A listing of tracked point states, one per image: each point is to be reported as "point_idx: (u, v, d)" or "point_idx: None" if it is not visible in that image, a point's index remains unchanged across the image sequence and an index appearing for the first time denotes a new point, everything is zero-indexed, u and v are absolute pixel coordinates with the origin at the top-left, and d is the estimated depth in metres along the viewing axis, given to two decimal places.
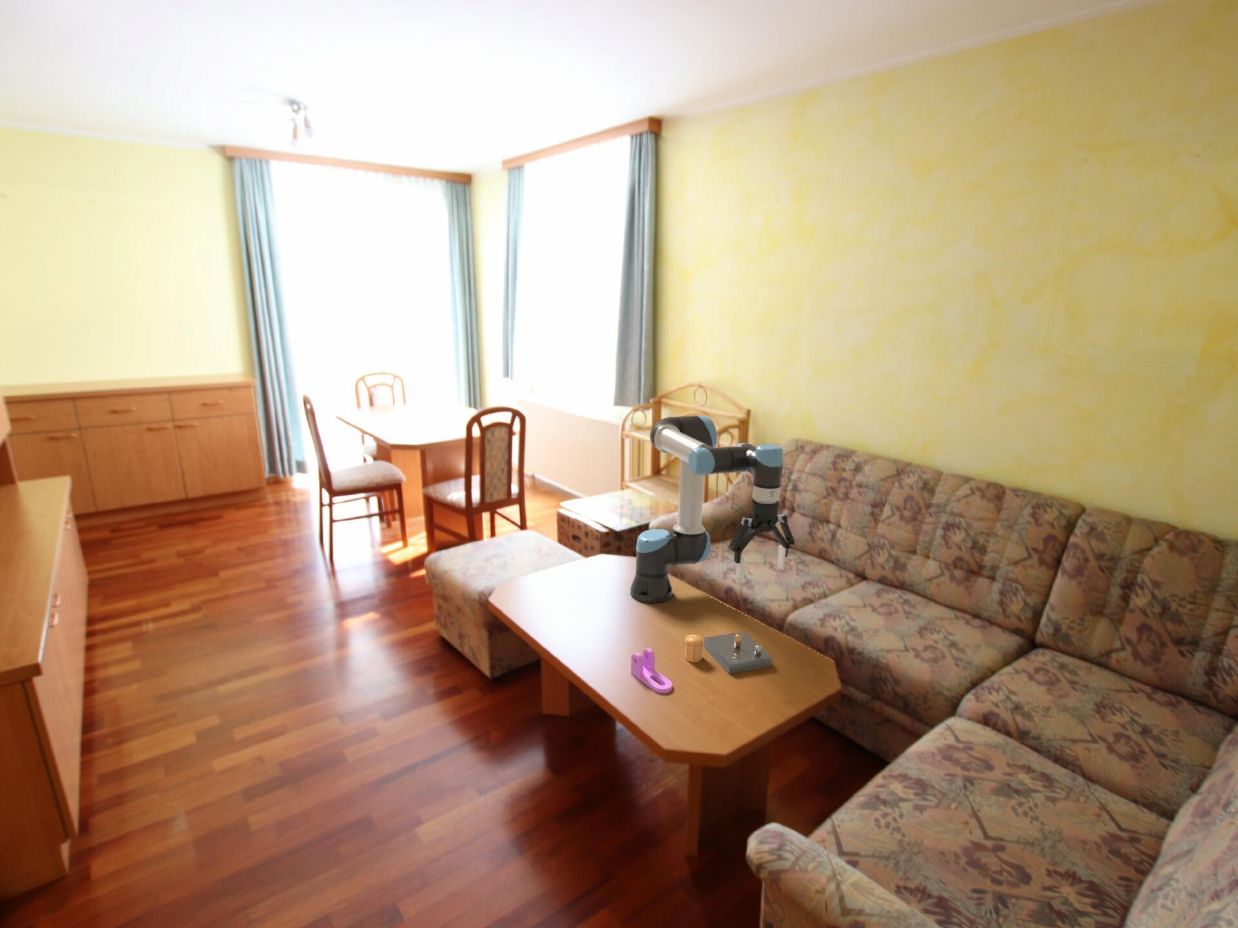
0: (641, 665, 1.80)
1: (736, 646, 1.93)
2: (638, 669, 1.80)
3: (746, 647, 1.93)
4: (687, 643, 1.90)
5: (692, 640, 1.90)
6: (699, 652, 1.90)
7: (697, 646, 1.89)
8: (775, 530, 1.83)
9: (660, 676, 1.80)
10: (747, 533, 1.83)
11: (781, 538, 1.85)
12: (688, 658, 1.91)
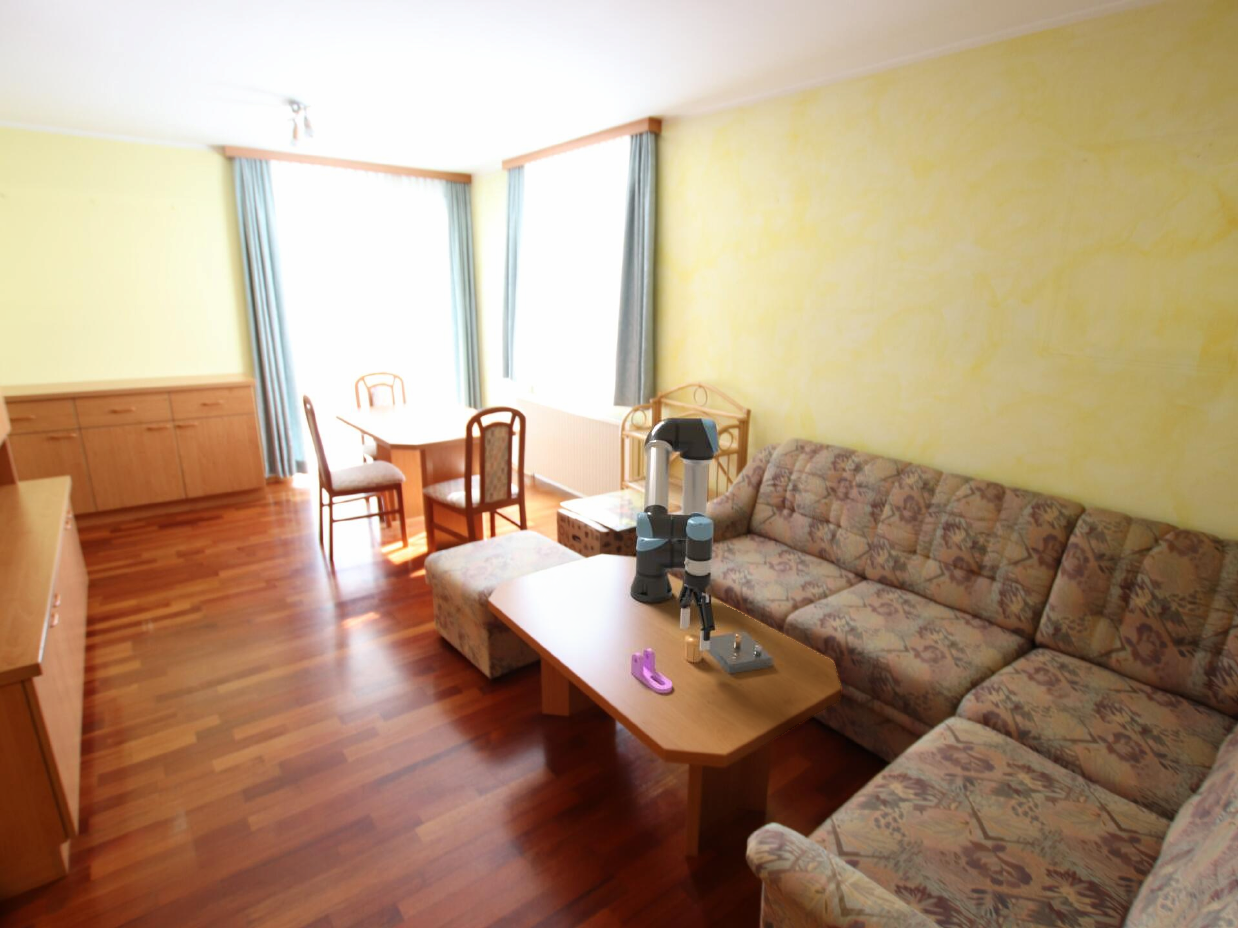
0: (641, 665, 1.80)
1: (736, 646, 1.93)
2: (639, 669, 1.81)
3: (746, 647, 1.93)
4: (687, 643, 1.90)
5: (692, 640, 1.90)
6: (699, 652, 1.90)
7: (697, 646, 1.89)
8: (695, 604, 1.85)
9: (660, 676, 1.81)
10: None
11: (700, 616, 1.83)
12: (688, 658, 1.91)
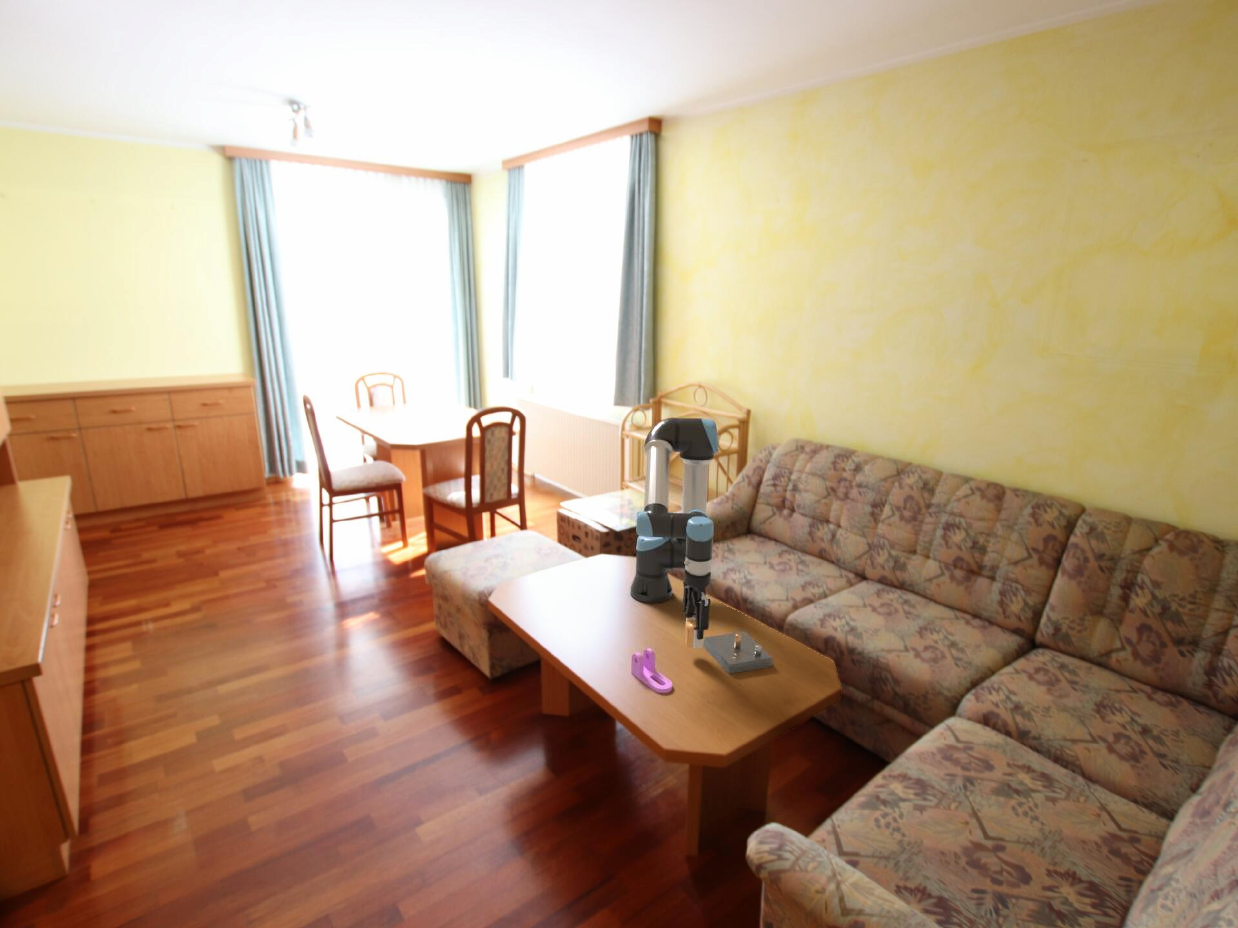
0: (641, 665, 1.81)
1: (736, 646, 1.93)
2: (639, 668, 1.81)
3: (746, 647, 1.93)
4: (688, 629, 1.90)
5: (693, 626, 1.90)
6: None
7: None
8: (693, 603, 1.87)
9: (660, 676, 1.81)
10: None
11: (695, 615, 1.87)
12: (688, 643, 1.90)
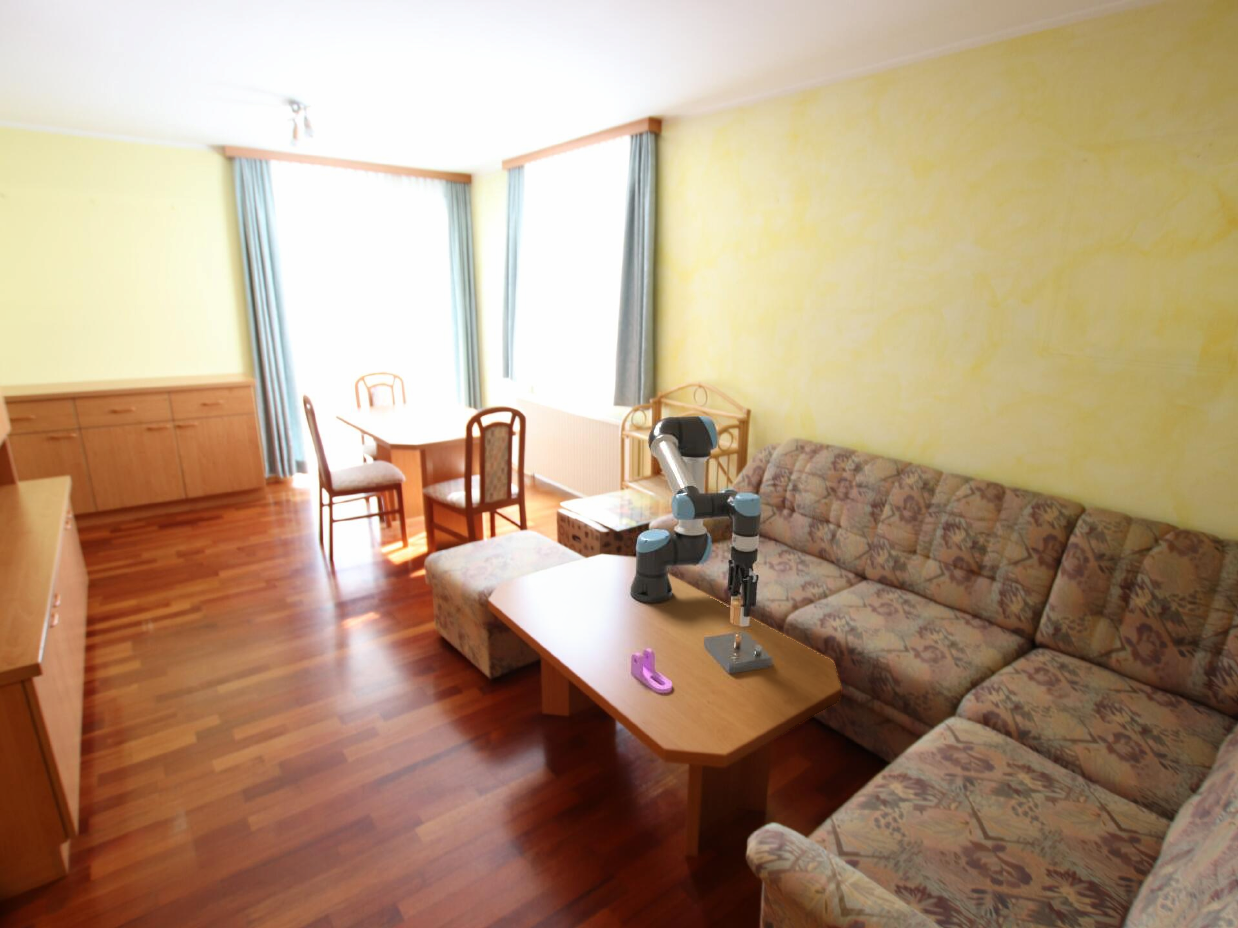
0: (641, 665, 1.80)
1: (736, 646, 1.93)
2: (638, 669, 1.80)
3: (746, 647, 1.93)
4: (734, 606, 1.89)
5: (739, 604, 1.89)
6: None
7: None
8: (740, 579, 1.86)
9: (660, 676, 1.81)
10: None
11: (742, 592, 1.86)
12: (734, 621, 1.89)
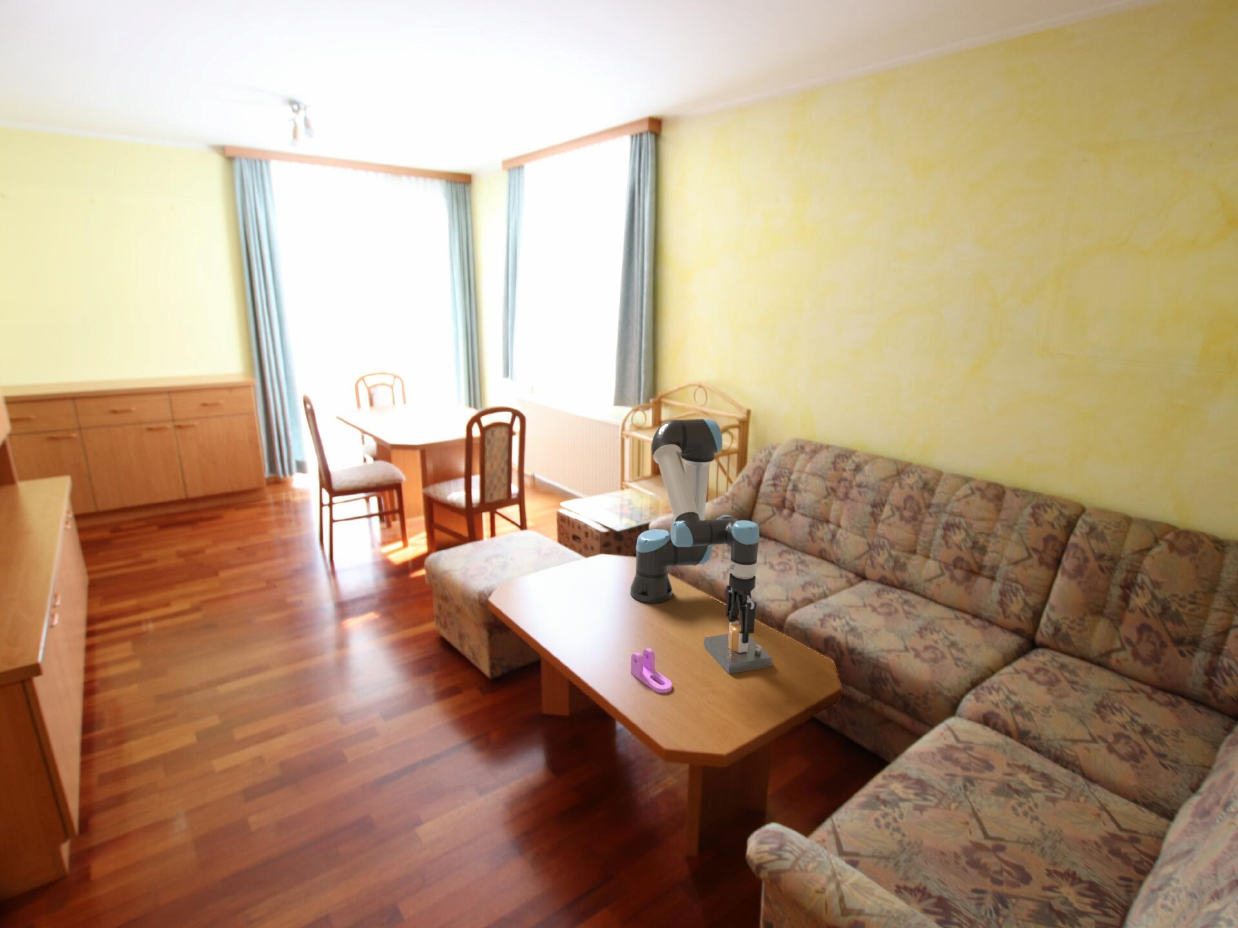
0: (641, 665, 1.81)
1: None
2: (638, 668, 1.81)
3: None
4: (732, 633, 1.91)
5: (737, 630, 1.91)
6: None
7: None
8: (738, 606, 1.88)
9: (660, 676, 1.81)
10: None
11: (741, 619, 1.88)
12: (733, 647, 1.91)
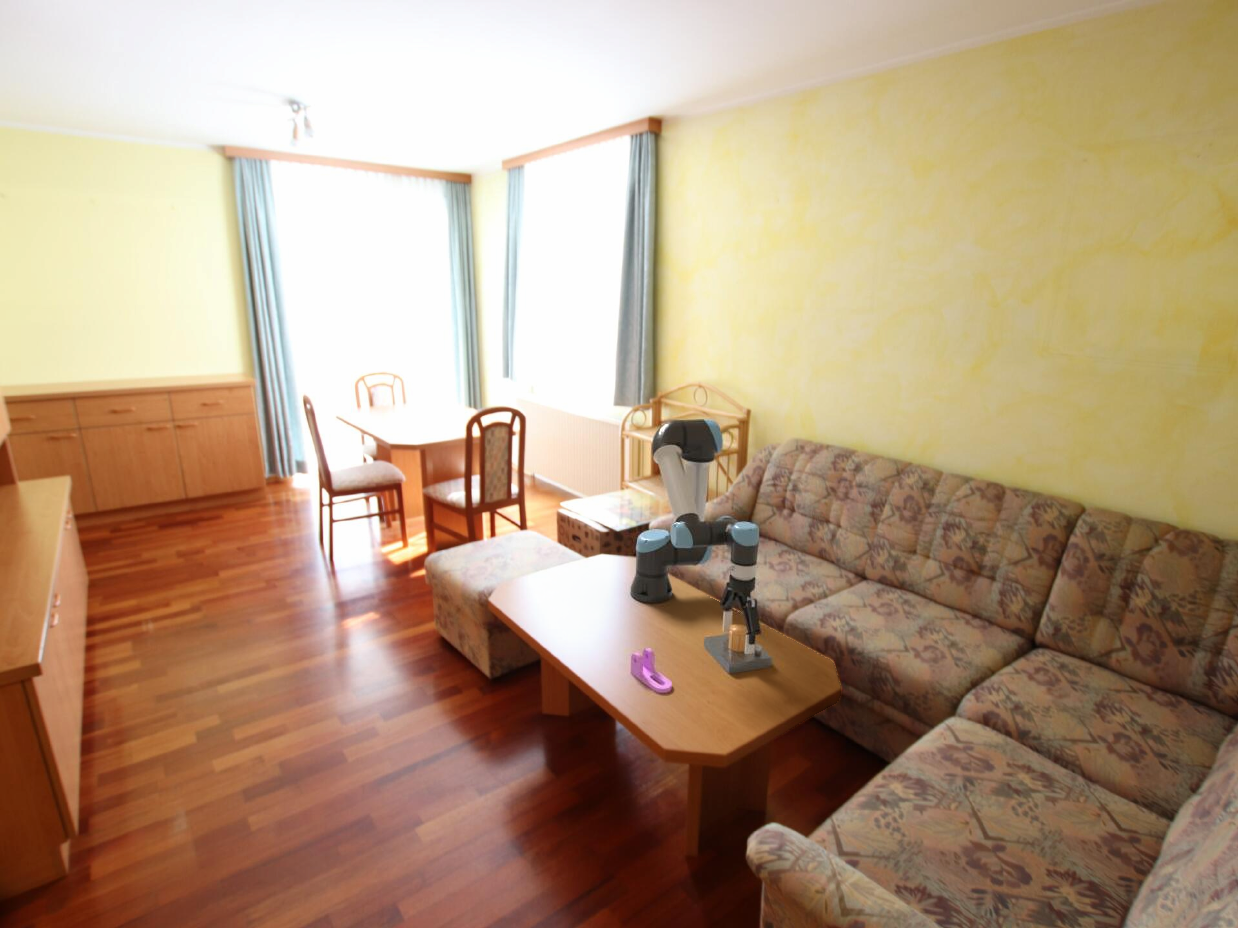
0: (641, 665, 1.81)
1: None
2: (638, 668, 1.81)
3: None
4: (732, 633, 1.91)
5: (737, 630, 1.91)
6: (744, 642, 1.91)
7: (742, 635, 1.90)
8: (740, 608, 1.87)
9: (660, 676, 1.81)
10: None
11: (745, 620, 1.85)
12: (733, 647, 1.91)
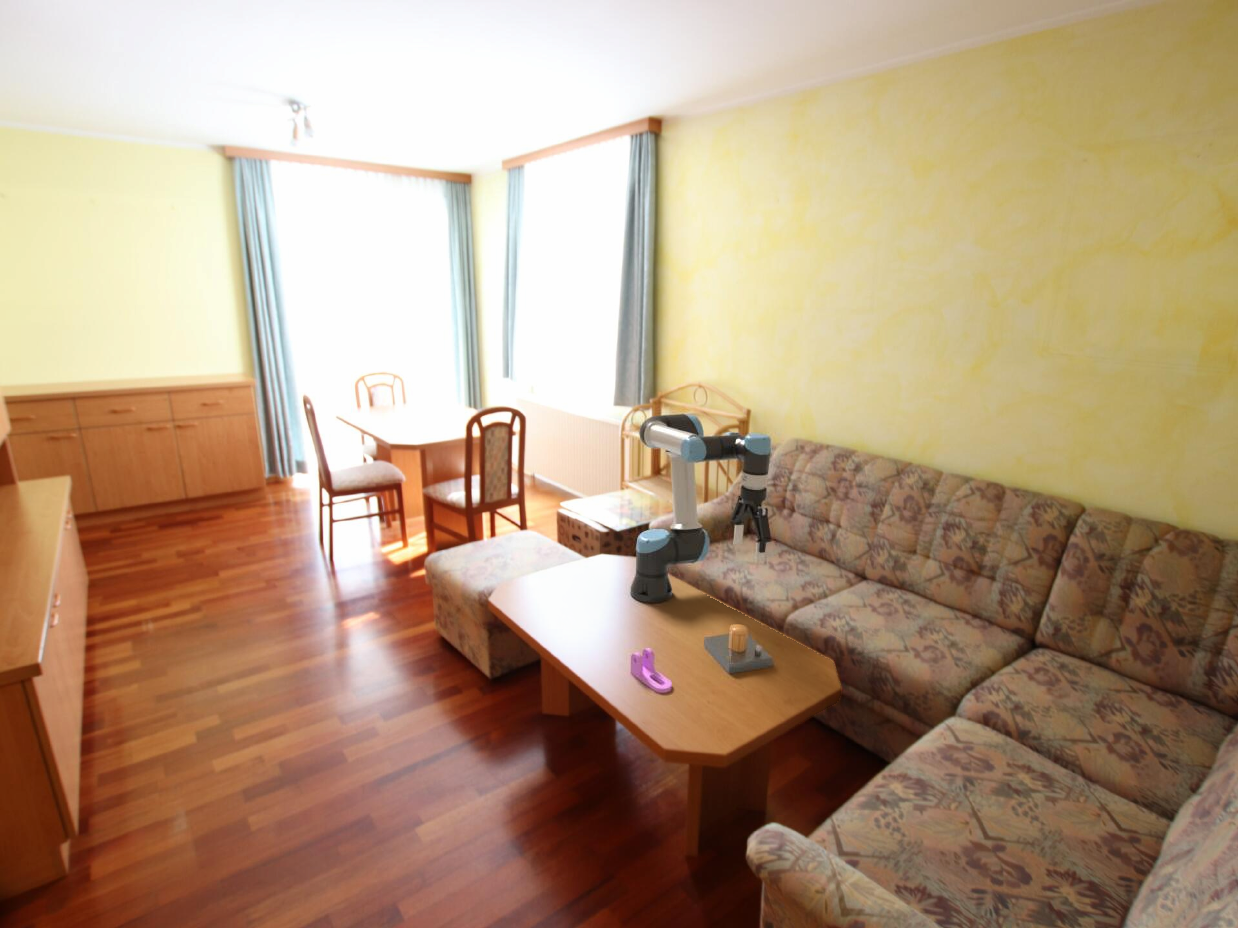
0: (641, 665, 1.81)
1: None
2: (638, 668, 1.81)
3: (746, 647, 1.93)
4: (732, 633, 1.91)
5: (737, 630, 1.91)
6: (744, 642, 1.91)
7: (742, 635, 1.90)
8: (751, 517, 1.91)
9: (660, 676, 1.81)
10: None
11: (756, 529, 1.89)
12: (733, 647, 1.91)
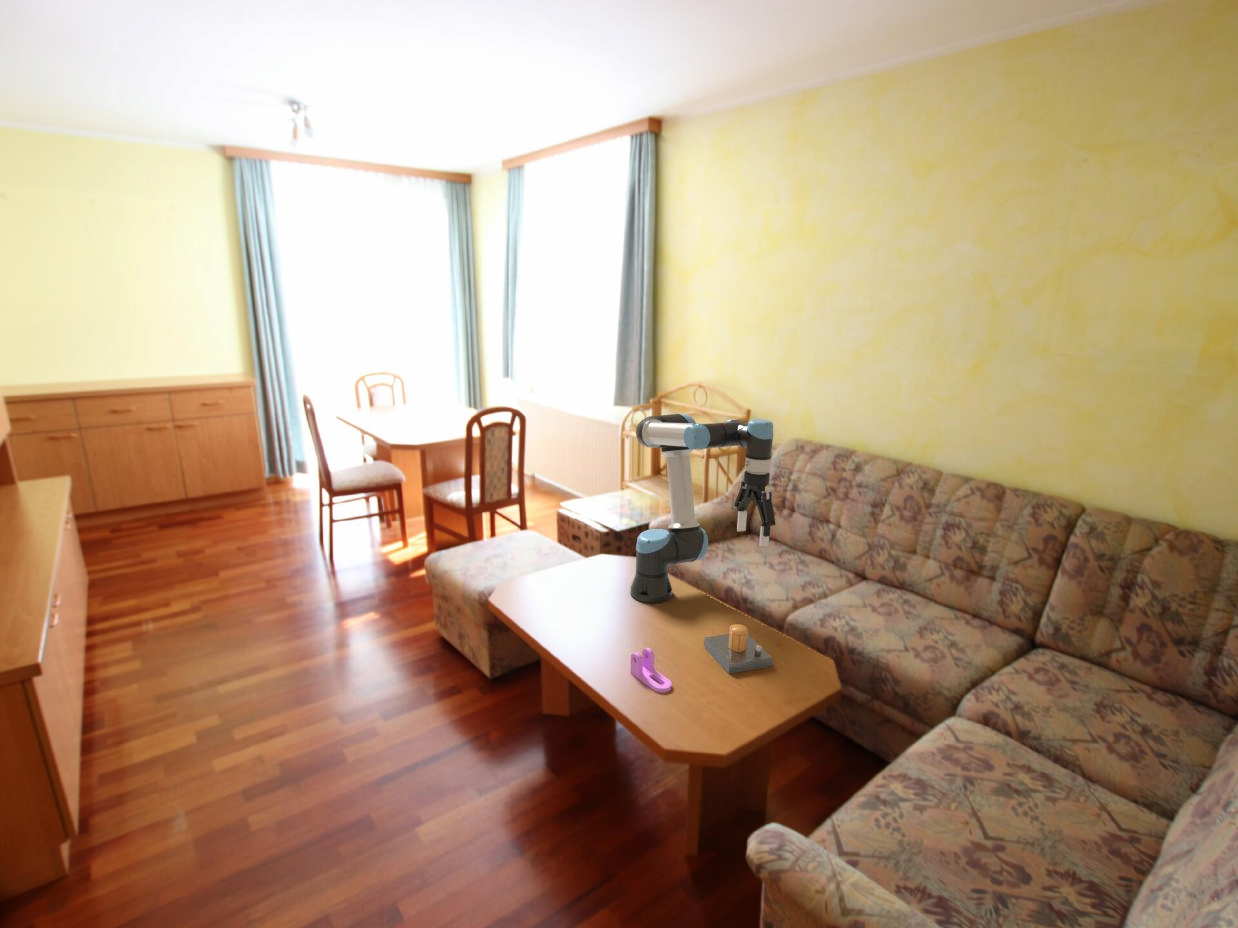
0: (640, 664, 1.81)
1: None
2: (638, 668, 1.81)
3: (746, 647, 1.93)
4: (732, 633, 1.91)
5: (737, 630, 1.91)
6: (744, 642, 1.91)
7: (742, 635, 1.90)
8: (755, 502, 1.93)
9: (659, 675, 1.81)
10: None
11: (760, 513, 1.92)
12: (733, 647, 1.91)
